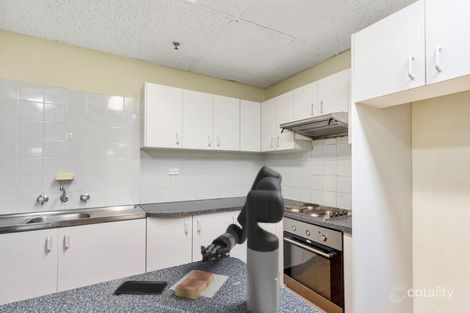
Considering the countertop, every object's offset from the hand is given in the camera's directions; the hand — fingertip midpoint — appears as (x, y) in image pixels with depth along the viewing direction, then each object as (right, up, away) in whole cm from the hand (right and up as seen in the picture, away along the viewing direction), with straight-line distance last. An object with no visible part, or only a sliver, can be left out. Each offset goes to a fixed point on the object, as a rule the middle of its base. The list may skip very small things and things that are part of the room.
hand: (204, 259), depth 86 cm
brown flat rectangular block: (0, -5, 0) cm, 5 cm away
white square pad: (-1, -7, -3) cm, 8 cm away
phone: (-19, -7, -7) cm, 22 cm away
